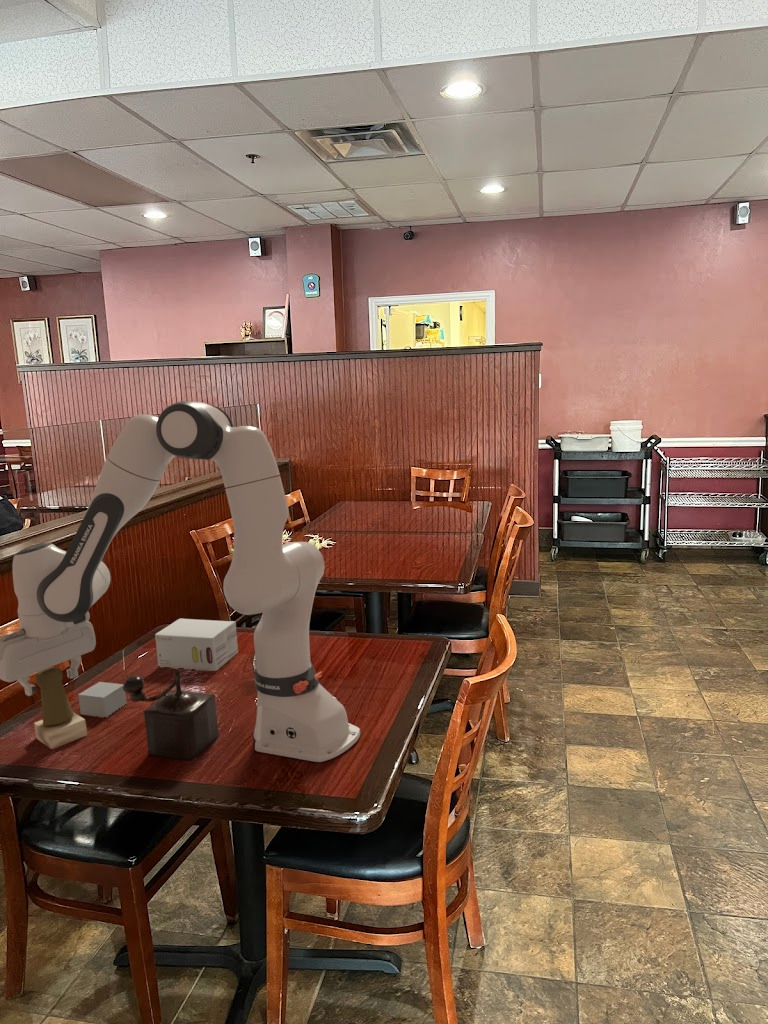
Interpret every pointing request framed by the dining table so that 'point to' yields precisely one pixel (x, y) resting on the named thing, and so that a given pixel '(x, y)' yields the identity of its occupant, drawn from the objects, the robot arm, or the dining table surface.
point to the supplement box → (196, 644)
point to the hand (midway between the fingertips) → (52, 685)
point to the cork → (53, 696)
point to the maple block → (61, 731)
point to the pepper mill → (176, 719)
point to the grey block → (102, 699)
